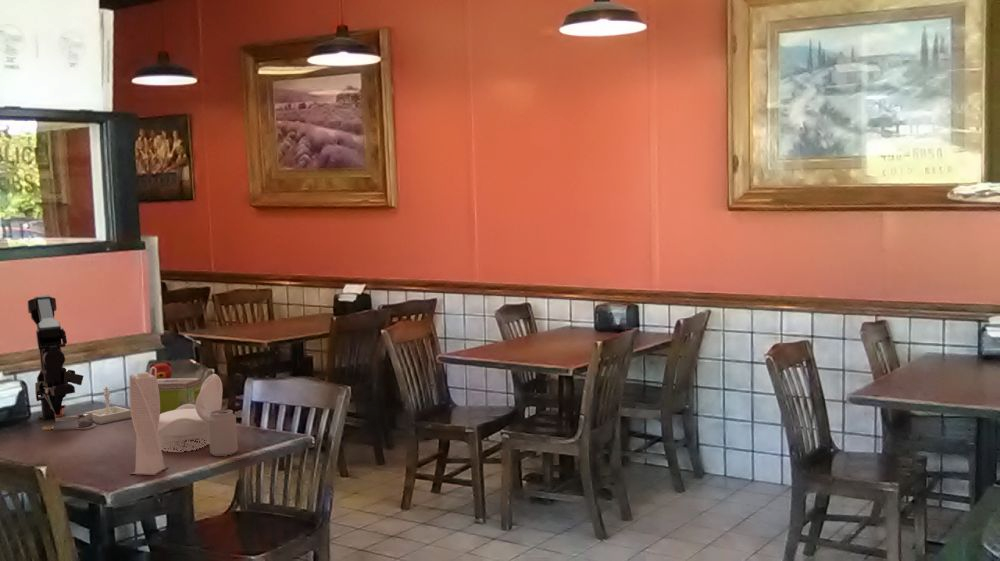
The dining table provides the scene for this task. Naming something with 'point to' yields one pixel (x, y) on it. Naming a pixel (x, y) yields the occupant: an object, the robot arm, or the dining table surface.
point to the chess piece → (107, 402)
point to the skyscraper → (146, 422)
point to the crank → (75, 417)
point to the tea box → (178, 392)
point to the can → (222, 433)
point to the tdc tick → (47, 427)
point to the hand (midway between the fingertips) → (57, 414)
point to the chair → (191, 418)
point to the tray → (110, 415)
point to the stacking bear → (162, 370)
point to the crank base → (86, 426)
